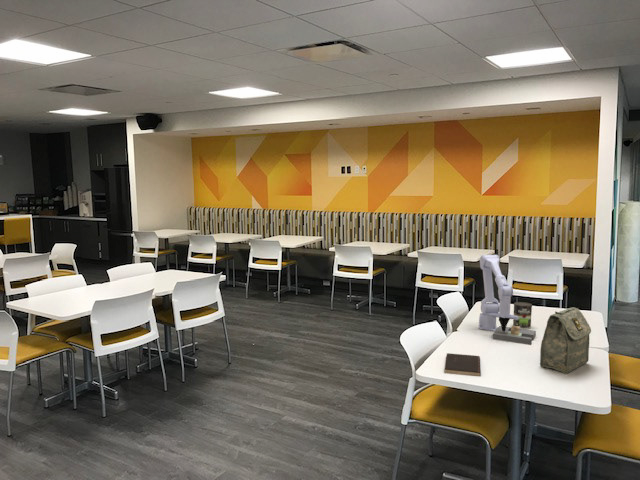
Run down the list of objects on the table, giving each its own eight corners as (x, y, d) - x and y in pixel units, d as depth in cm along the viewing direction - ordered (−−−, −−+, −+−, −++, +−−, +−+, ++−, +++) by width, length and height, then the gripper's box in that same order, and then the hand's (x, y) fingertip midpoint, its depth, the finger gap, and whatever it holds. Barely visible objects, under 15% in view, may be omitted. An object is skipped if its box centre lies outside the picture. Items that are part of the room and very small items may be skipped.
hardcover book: (444, 373, 243) (444, 368, 243) (446, 357, 265) (446, 353, 265) (480, 377, 239) (480, 372, 238) (479, 360, 261) (479, 355, 260)
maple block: (510, 334, 292) (510, 327, 292) (512, 332, 295) (512, 325, 295) (518, 335, 290) (518, 328, 290) (519, 333, 293) (519, 326, 293)
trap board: (492, 339, 293) (492, 333, 293) (499, 330, 309) (499, 325, 308) (530, 344, 283) (530, 339, 283) (535, 335, 299) (535, 330, 298)
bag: (571, 375, 239) (574, 316, 236) (537, 366, 251) (539, 310, 248) (591, 364, 254) (595, 308, 251) (558, 355, 266) (561, 302, 263)
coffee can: (532, 329, 312) (533, 306, 310) (514, 328, 313) (515, 305, 312) (528, 324, 322) (529, 302, 320) (511, 324, 323) (512, 301, 322)
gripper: (489, 307, 294) (488, 330, 296) (517, 310, 287) (516, 334, 289) (492, 304, 300) (491, 327, 302) (519, 307, 293) (518, 331, 295)
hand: (503, 330), depth 296 cm, fingers closed
